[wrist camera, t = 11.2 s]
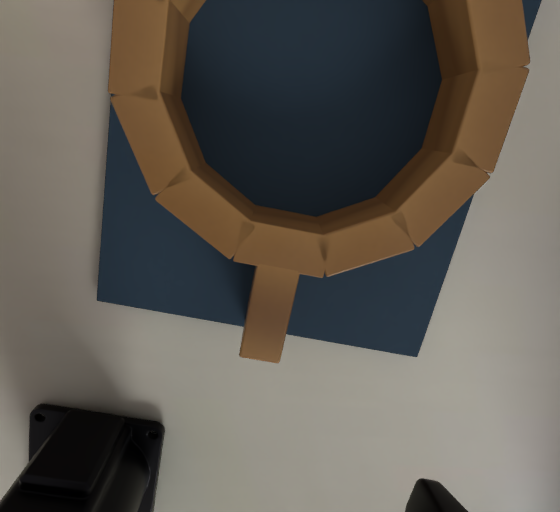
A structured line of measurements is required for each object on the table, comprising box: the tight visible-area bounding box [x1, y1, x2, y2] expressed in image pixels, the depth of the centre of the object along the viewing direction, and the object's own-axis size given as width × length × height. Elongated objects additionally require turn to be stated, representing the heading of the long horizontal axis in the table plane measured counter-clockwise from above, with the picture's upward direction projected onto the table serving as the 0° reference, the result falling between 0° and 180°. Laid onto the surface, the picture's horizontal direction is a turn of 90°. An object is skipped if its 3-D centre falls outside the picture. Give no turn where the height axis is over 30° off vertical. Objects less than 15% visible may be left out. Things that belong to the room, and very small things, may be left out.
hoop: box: [108, 0, 530, 363], centre depth 15 cm, size 17×13×3 cm
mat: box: [97, 0, 541, 357], centre depth 16 cm, size 20×15×1 cm
